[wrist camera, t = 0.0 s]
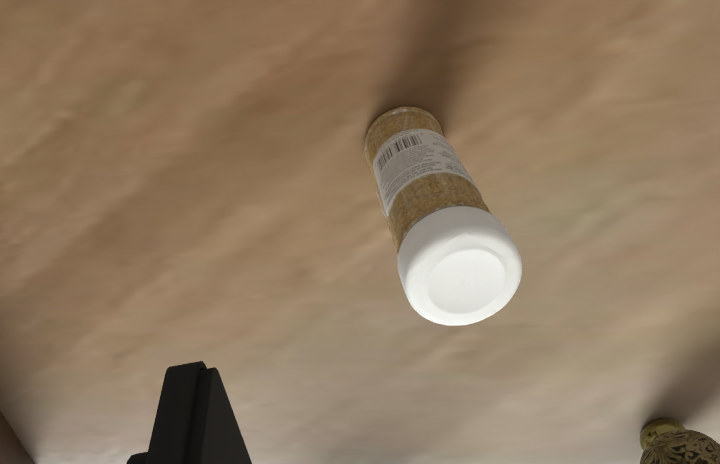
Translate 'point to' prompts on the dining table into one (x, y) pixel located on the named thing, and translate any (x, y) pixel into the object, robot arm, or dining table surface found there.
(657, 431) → the cup
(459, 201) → the sprinkles bottle
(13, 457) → the shelf
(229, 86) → the dining table surface
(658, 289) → the dining table surface
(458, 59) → the dining table surface
